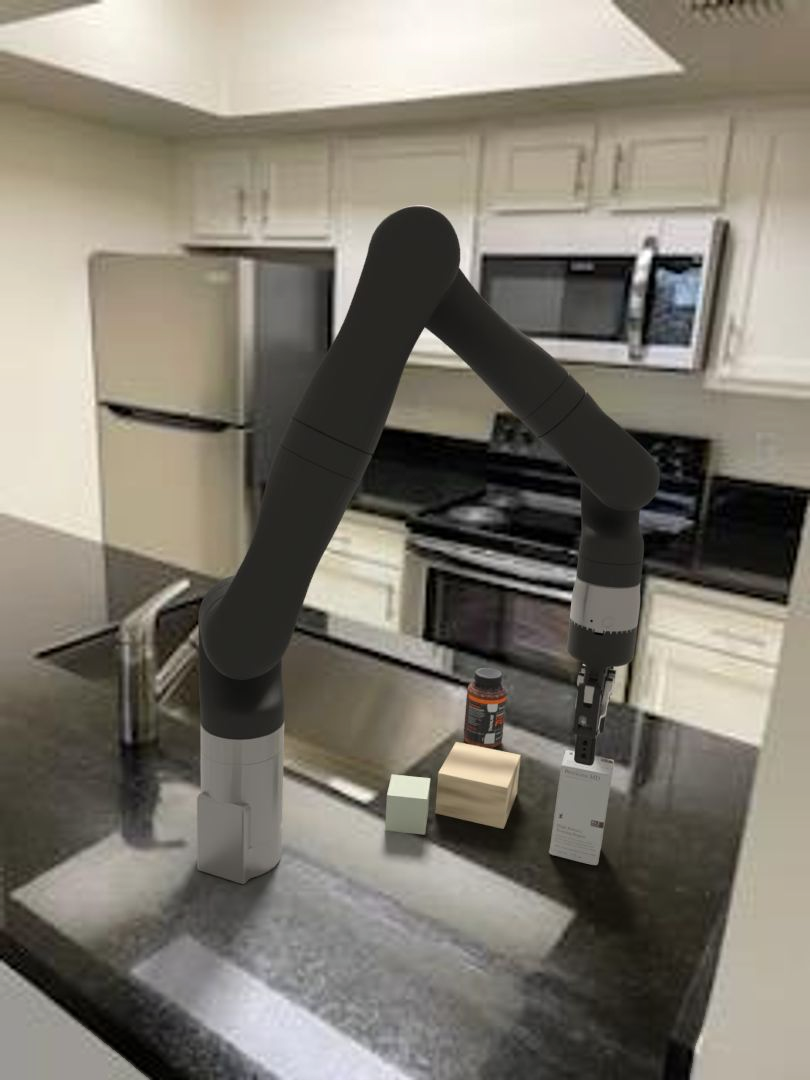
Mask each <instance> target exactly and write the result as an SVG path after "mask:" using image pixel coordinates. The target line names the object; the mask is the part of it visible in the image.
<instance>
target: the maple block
mask: <svg viewBox="0 0 810 1080" xmlns="http://www.w3.org/2000/svg"><path fill="white" fill-rule="evenodd" d="M520 765H521V754H518V753H513V752H510V751H509V752H507V751H503V750H498V749H495V748H491V749H489V748H484V747H479V746H474V745H469V744H468V743H465V742H458V741H455V743H454V745H453V746H452V748H451V749H450V751H449V754H448V755H447V757H446V758H445V760H444V762H443V764H442V766H441V767H440V769H439V771H438V773H437V785H436V786H437V787H436V799H435V811H434V812H435V814H437V815H442V816H446V817H451V818H455V819H460V820H463V821H468V822H473V823H477V824H481V825H484V826H488V827H489V826H490V827H493V828H498V829H502V830H503V829H504V828H505V826H506V824H507V820H508V819H509V815H510V813H511V810H512V808H513V805H514V802H515V799H516V797H517V794H518V786H519V785H518V784H519V777H520V775H519V774H520Z"/></svg>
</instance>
